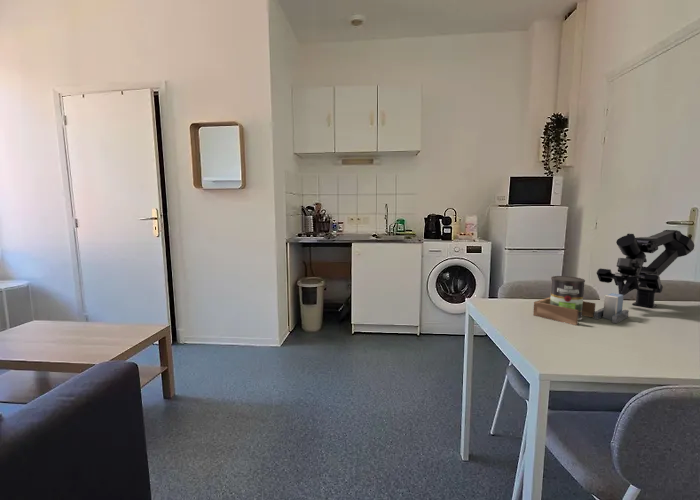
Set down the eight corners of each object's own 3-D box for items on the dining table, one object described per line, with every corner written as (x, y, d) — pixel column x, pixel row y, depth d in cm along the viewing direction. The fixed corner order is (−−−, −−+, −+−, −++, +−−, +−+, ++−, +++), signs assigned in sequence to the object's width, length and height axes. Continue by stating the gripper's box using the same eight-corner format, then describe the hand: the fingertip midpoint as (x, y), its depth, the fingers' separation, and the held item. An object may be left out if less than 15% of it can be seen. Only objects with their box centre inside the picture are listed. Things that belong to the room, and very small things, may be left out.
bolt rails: (606, 312, 133) (606, 306, 132) (628, 317, 127) (628, 310, 127) (593, 318, 126) (593, 311, 125) (615, 323, 120) (616, 316, 120)
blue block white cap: (610, 314, 131) (611, 292, 130) (621, 316, 128) (623, 294, 127) (602, 317, 127) (604, 295, 126) (614, 320, 124) (616, 297, 123)
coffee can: (583, 322, 122) (586, 282, 120) (549, 318, 126) (551, 279, 125) (580, 314, 131) (583, 277, 129) (548, 311, 135) (550, 274, 134)
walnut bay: (553, 308, 139) (553, 295, 139) (594, 316, 128) (595, 303, 127) (533, 315, 130) (534, 302, 130) (575, 325, 119) (576, 310, 118)
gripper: (600, 248, 140) (586, 278, 134) (661, 252, 125) (649, 287, 119) (606, 265, 145) (593, 296, 140) (665, 272, 130) (653, 306, 125)
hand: (620, 296), depth 131 cm, fingers closed
